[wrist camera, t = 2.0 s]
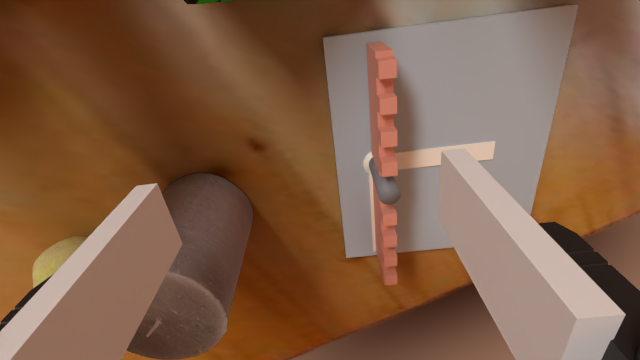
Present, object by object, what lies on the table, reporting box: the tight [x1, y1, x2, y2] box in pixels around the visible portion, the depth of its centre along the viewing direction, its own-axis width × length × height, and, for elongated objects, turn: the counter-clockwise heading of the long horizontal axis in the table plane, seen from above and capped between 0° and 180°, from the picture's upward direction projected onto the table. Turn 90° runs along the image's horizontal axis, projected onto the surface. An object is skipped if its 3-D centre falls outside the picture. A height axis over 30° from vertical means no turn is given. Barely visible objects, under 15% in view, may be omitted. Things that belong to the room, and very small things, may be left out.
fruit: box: [33, 236, 89, 288], centre depth 33 cm, size 7×8×12 cm
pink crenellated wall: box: [366, 41, 398, 177], centre depth 26 cm, size 1×10×6 cm, turn 7°
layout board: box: [323, 4, 579, 258], centre depth 32 cm, size 20×24×1 cm
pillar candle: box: [127, 173, 253, 360], centre depth 29 cm, size 10×10×15 cm
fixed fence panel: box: [369, 157, 401, 285], centre depth 32 cm, size 2×12×6 cm, turn 7°
